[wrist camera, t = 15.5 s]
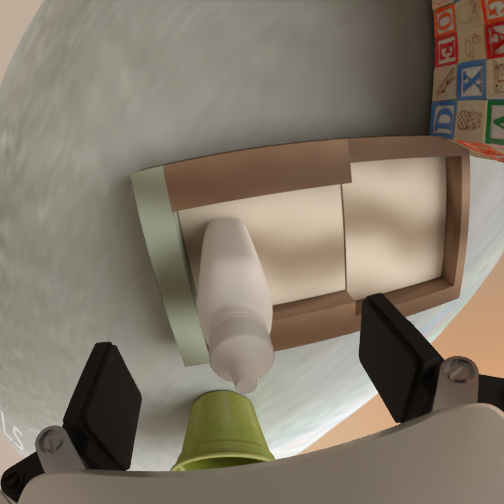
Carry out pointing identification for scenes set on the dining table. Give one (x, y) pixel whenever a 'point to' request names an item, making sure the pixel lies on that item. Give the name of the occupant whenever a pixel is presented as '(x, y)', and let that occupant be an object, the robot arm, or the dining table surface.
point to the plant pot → (222, 434)
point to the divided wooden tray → (314, 229)
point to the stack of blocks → (469, 75)
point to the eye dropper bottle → (234, 305)
